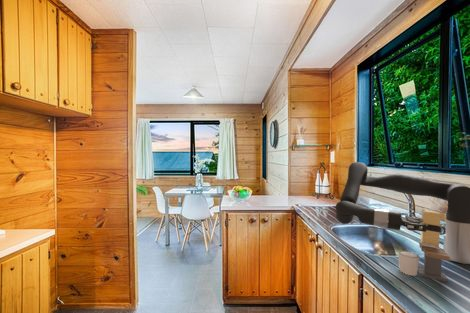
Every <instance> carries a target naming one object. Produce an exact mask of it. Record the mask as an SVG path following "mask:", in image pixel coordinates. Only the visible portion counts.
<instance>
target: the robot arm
mask: <svg viewBox="0 0 470 313" xmlns="http://www.w3.org/2000/svg"><path fill="white" fill-rule="evenodd" d="M368 171H369V169H368V165H367V164H365V163H364V162H362V161H361V162H360V161H355V162H352V163H350V165H349V166H348V171H347V180H346V183H345V186H344V189H343V191H342V192H341V193H342V194H341V196H340V200H339V202H336V204H335V217H336V219H337V221H338V222H339V223H340V224H342V225H347V224H348V225H349V223H351V222H353V220H354V216H355V217H356V218H358V221H359V222H360V223H361V224H365V225H369V226H375V227H378V228H382V229H389V230H394V231H400V230H401V227H405V228H406V229H407V230H408V231H417V232H421V231H423V232H426V231H434V232H440V233H441V229H442V227H441V225H440V226H436V225H429V224H425V223H421V221H422V217H421V218H420V217H419V218H418V217H413V216H408V215H405V217H402V213H401V211H396V210H390V209H389V210H388V209H383V208H371V207H365V206H362V205H360V204H357V202H358V199H359V195H360V190H361V188H360V187H361V186H363V187H371V188H378V189H383V190H389V191H393V192H396V193H402V194H406V195H413V196H422V197H424V196H425V197H432V198H436V199H439V200H442V201H446V202H447V212H446V214H445V234H443V249H442V250H444V251H445V253H446V254H447V255H449V256H450V261H451V262H454V263H455V262H456V263H460V264H464V265H470V186H467V185H464V184H461V183H460V184H459V183H449V182H448V183H447V182H438V181H433V180H428V179H425V178H422V177H419V176H414V175H409V174H403V173H397V172H396V173H392V174H387V175H382V176H370V175H368ZM421 226H422V228H421Z"/></svg>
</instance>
